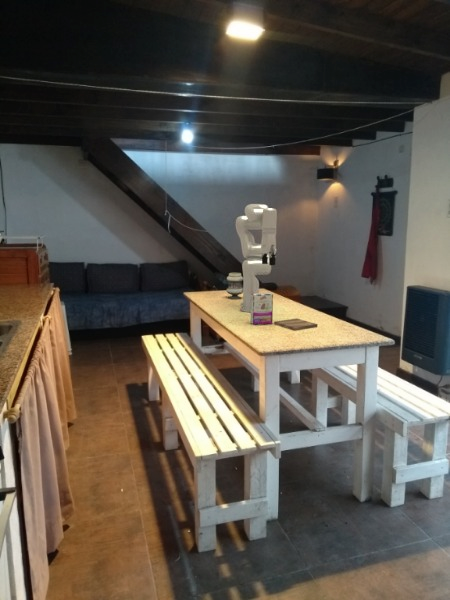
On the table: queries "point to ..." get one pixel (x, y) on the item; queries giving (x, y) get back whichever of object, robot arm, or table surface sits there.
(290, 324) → the walnut board
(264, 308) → the candy bar box
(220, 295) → the table surface
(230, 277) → the apothecary jar
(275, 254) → the robot arm
